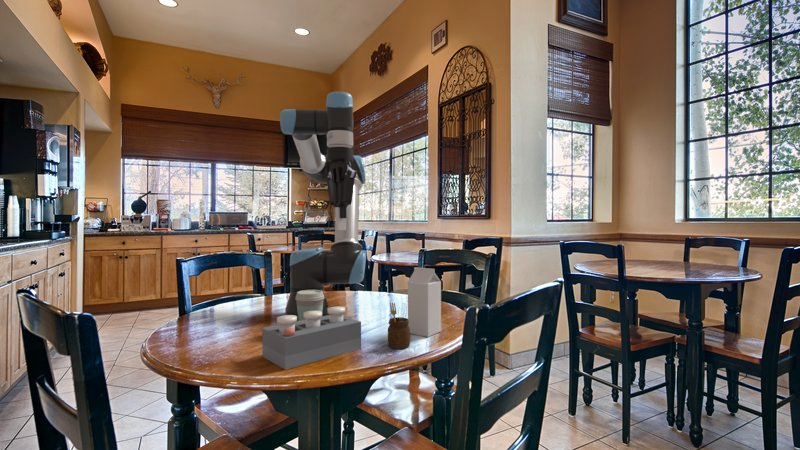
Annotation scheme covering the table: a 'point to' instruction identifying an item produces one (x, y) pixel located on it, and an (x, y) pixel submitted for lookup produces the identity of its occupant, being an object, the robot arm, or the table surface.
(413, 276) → the milk carton
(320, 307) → the coffee cup
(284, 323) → the white capped tube
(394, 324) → the utensil holder
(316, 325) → the knob middle
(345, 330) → the grey tube rack
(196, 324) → the table surface
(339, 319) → the knob far
